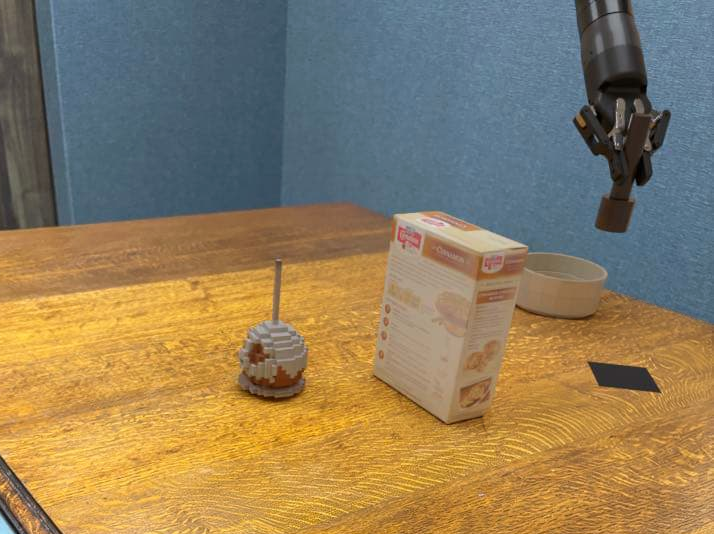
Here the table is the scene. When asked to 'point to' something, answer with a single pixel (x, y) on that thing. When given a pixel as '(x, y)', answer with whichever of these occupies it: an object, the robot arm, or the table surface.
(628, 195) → the pestle
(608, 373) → the coaster
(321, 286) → the table surface
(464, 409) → the coffeecake box
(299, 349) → the decorative ornament
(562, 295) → the bowl
